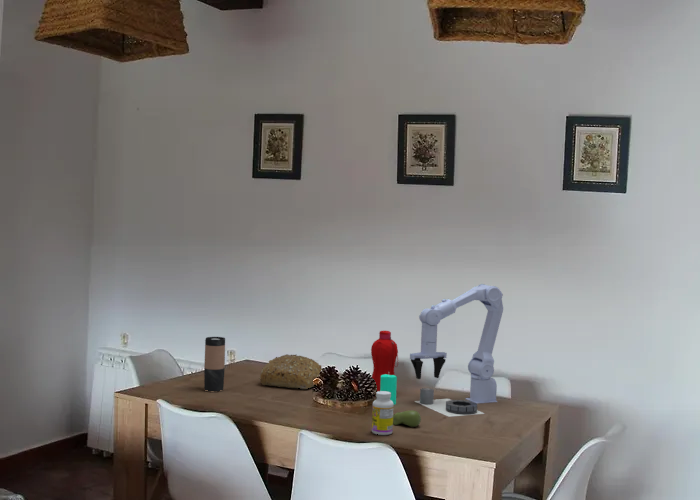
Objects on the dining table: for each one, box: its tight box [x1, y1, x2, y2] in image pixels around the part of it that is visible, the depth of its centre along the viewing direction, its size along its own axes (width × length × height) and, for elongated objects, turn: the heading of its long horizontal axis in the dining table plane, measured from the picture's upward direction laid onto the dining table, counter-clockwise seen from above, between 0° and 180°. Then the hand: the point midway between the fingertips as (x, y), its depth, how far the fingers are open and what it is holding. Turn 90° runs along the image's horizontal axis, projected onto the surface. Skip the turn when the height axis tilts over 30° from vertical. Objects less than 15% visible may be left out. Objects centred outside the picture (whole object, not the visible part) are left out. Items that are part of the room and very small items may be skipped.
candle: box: [380, 374, 398, 405], centre depth 289 cm, size 6×6×12 cm
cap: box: [419, 387, 435, 405], centre depth 292 cm, size 5×5×5 cm
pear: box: [393, 409, 422, 428], centre depth 261 cm, size 6×5×10 cm
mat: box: [414, 398, 486, 418], centre depth 287 cm, size 15×24×1 cm, turn 25°
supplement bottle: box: [371, 391, 395, 436], centre depth 250 cm, size 7×7×13 cm
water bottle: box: [370, 330, 399, 394], centre depth 302 cm, size 9×11×25 cm
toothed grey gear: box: [446, 399, 478, 416], centre depth 282 cm, size 11×11×3 cm
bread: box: [258, 354, 323, 390], centre depth 318 cm, size 24×21×12 cm
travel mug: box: [203, 336, 226, 391], centre depth 303 cm, size 8×8×20 cm
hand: (427, 378), depth 292 cm, fingers open, 7 cm apart
